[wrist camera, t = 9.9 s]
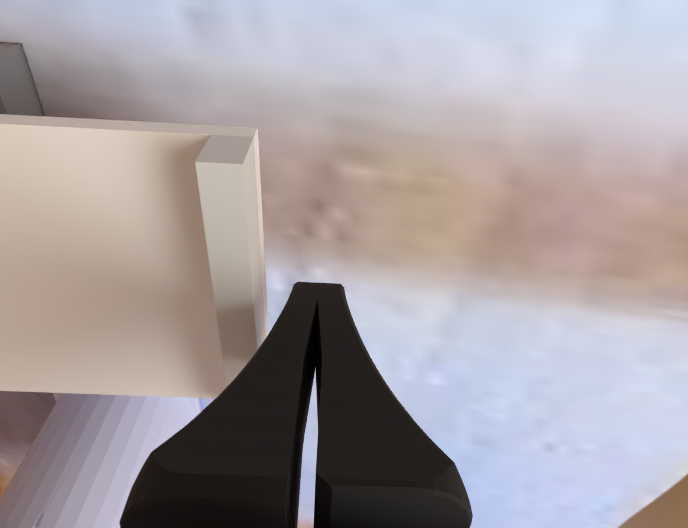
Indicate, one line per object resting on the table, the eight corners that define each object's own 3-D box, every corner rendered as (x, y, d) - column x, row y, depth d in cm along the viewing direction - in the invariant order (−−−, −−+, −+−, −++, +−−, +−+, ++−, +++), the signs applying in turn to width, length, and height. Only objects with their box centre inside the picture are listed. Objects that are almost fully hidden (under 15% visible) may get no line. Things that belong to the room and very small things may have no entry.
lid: (271, 387, 18) (264, 437, 16) (-121, 372, 17) (-171, 422, 16) (257, 127, 12) (242, 164, 10) (-334, 97, 12) (-450, 129, 10)
